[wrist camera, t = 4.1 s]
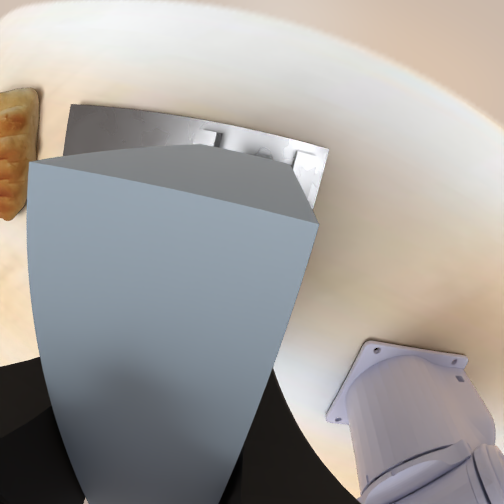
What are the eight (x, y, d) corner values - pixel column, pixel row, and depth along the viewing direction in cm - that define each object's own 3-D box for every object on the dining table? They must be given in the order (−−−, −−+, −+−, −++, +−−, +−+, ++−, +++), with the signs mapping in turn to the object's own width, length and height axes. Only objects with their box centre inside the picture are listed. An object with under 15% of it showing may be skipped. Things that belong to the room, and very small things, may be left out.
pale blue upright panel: (290, 164, 10) (318, 223, 3) (221, 418, 14) (190, 564, 7) (200, 144, 10) (29, 161, 3) (162, 402, 14) (107, 539, 7)
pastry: (47, 215, 19) (12, 231, 16) (-7, 214, 20) (-39, 227, 16) (47, 82, 16) (9, 78, 13) (-10, 100, 17) (-44, 101, 13)
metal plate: (326, 148, 16) (334, 150, 14) (263, 360, 21) (261, 385, 19) (80, 105, 16) (56, 102, 14) (67, 301, 21) (48, 317, 19)
